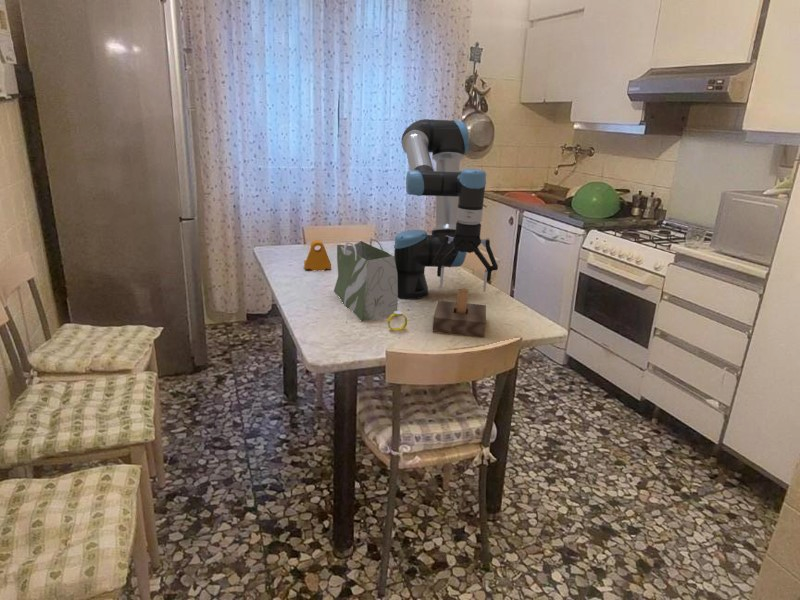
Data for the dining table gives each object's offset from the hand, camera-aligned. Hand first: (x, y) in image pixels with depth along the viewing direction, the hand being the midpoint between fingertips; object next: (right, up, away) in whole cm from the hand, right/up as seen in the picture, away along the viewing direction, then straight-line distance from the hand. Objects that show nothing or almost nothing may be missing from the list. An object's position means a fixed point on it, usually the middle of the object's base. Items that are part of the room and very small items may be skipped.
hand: (462, 288), depth 166 cm
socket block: (-1, -12, +4) cm, 13 cm away
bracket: (-55, +10, +58) cm, 81 cm away
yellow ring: (-21, -13, -2) cm, 25 cm away
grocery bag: (-33, -5, +19) cm, 38 cm away
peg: (0, -12, +4) cm, 13 cm away
